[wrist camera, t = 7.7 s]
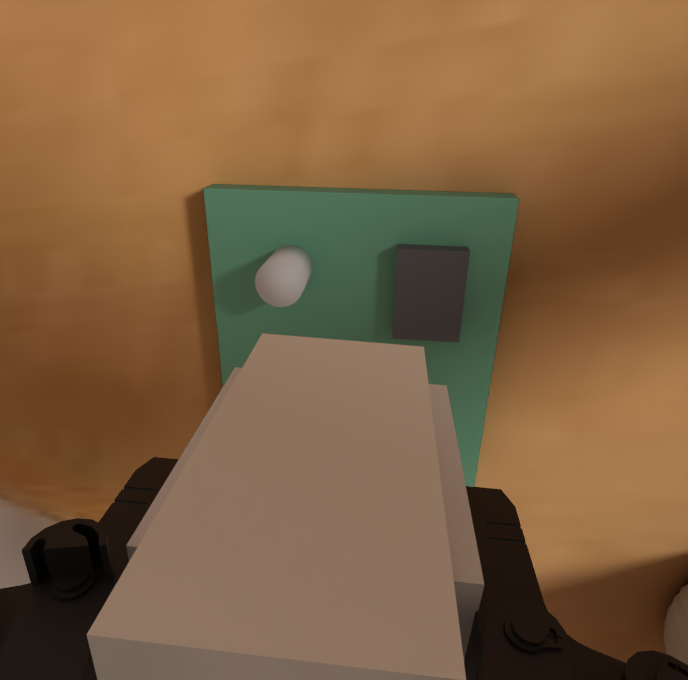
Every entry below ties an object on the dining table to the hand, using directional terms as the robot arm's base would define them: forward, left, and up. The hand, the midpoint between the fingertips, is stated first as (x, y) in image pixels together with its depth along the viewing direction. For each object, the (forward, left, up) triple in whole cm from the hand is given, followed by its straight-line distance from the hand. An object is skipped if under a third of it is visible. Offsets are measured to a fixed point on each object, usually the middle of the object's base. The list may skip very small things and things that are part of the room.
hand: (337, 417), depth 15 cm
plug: (0, 0, 0) cm, 0 cm away
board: (+6, -1, -15) cm, 17 cm away
